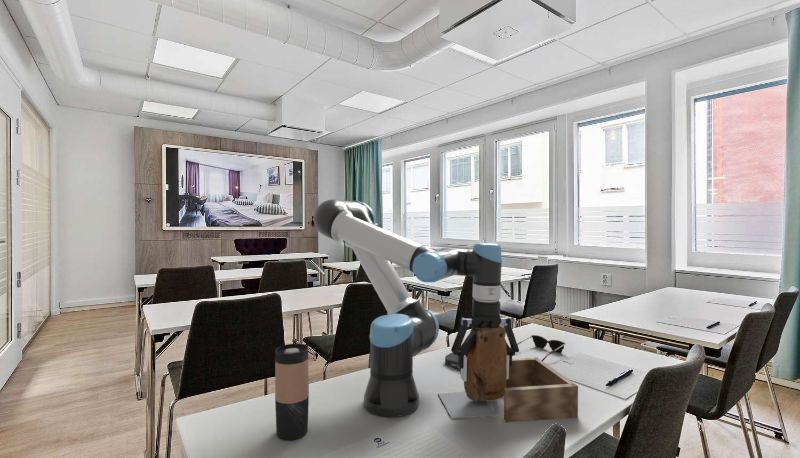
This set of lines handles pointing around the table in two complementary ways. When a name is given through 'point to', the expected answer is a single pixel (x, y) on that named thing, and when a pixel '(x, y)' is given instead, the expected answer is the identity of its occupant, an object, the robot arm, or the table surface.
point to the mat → (465, 406)
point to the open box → (538, 392)
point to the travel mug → (291, 391)
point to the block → (486, 365)
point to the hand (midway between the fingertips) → (484, 378)
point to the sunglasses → (542, 342)
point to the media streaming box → (452, 360)
